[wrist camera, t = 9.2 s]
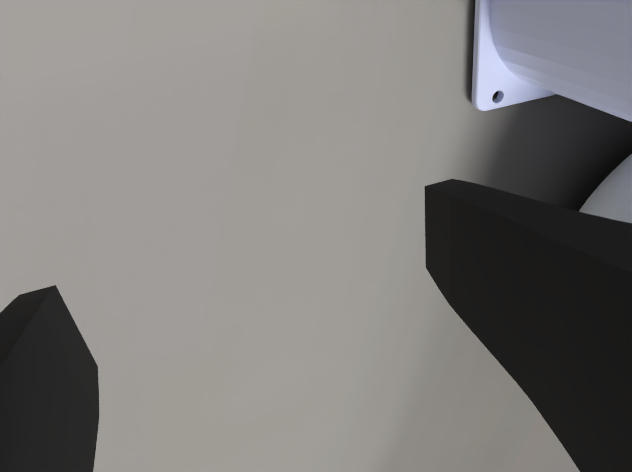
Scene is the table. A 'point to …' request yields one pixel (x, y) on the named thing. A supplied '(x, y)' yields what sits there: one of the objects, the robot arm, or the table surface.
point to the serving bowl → (613, 195)
